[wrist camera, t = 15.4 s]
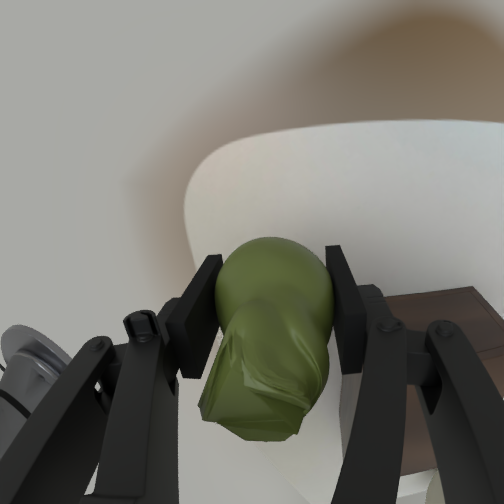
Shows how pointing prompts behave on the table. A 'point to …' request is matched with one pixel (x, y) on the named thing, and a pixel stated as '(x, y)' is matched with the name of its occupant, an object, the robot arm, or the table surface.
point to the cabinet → (416, 433)
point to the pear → (269, 339)
